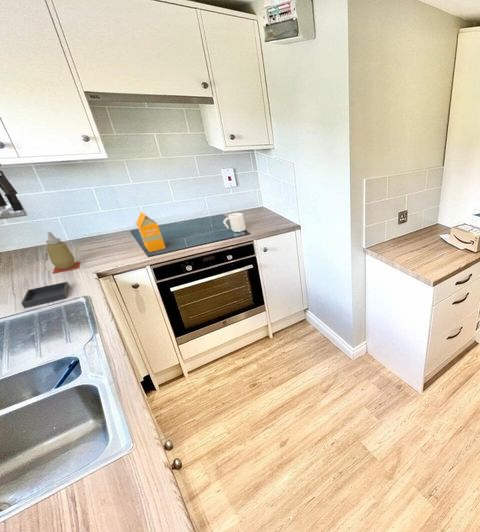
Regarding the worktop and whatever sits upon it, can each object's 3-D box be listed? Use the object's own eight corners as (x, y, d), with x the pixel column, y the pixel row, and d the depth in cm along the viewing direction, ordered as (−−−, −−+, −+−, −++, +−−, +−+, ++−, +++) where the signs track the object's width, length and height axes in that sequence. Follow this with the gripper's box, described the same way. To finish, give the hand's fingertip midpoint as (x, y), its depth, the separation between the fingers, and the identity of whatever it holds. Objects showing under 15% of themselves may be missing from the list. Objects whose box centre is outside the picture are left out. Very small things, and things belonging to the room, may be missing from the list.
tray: (24, 308, 126) (21, 303, 125) (30, 294, 135) (27, 289, 134) (66, 298, 133) (63, 293, 132) (69, 286, 142) (67, 281, 141)
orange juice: (161, 243, 184) (149, 210, 175) (166, 248, 179) (154, 213, 170) (144, 247, 179) (132, 213, 170) (149, 252, 174) (136, 217, 165)
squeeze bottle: (61, 272, 152) (43, 236, 144) (51, 268, 154) (32, 234, 146) (81, 264, 159) (65, 230, 150) (71, 262, 161) (54, 228, 153)
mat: (52, 273, 151) (52, 273, 151) (55, 266, 157) (55, 265, 157) (78, 268, 156) (78, 268, 156) (80, 261, 162) (79, 261, 162)
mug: (244, 226, 212) (241, 212, 208) (246, 230, 206) (243, 215, 201) (224, 229, 207) (221, 214, 202) (226, 233, 200) (222, 218, 196)
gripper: (11, 158, 129) (37, 209, 139) (-19, 153, 137) (7, 202, 147) (-16, 161, 123) (13, 214, 132) (-46, 156, 131) (-16, 206, 141)
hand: (10, 208), depth 140 cm, fingers open, 13 cm apart
